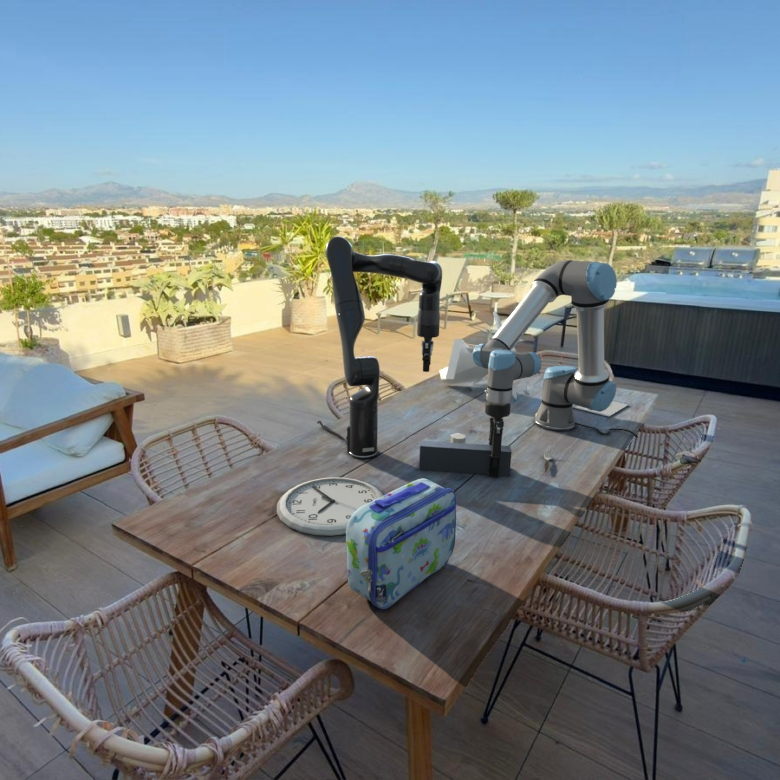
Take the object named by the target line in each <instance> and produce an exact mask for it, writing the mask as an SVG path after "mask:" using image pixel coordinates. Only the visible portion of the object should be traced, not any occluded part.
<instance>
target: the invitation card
mask: <svg viewBox="0 0 780 780" xmlns="http://www.w3.org/2000/svg"><path fill="white" fill-rule="evenodd" d="M628 406H629V404H627V403H623V402H618V401H614V400H613V401H612V403H611V404H610V406H609V407H608V408H607V409H605V410H604V411H601V412H598V411H594V410H590V409H587V408H584V407H581V406H577V405H575V406H574V407H573V409H575V410H581V411H584V412H587V413H593V414H596V415H600V416H604V417H608V418H609V417H611V416H613V415H614V414H616V413H617V412H619V411H621V410H623V409H624V408H626V407H628Z"/></svg>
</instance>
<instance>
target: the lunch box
mask: <svg viewBox="0 0 780 780" xmlns="http://www.w3.org/2000/svg"><path fill="white" fill-rule="evenodd" d="M456 498H457V496H456V493H455V491H454V489H452V488H450V487H443V486H441V485H439V484H438V483H436V482H433V481H432V480H430V479H427V478H423V477H422V478H418V479H416V480H413V481H411V482H409V483H406V484H405V485H402V486H400V487H398V488H396V489H394V490H392V491H390V492H388V493H386V494H384V496H382V497H380V498H378V499H376V500H374V501H372V502H370V503H368V504H366V505H364V506H362V507H360V508H358V509H357V510H356V511H355V512H354V513H353V514H352V515H351V517H350V519H349V521H348V524H347V528H346V534H345V547H346V549H345V550H346V572H347V573H346V575H347V584H348V587H349V589H350V590H351V591H353V592H355V593H357V594H358V595H361V596H363V597H364V598H365V599H367V600H368V601H369V602H371V604H372V605H373V606H374V607H376V608H377V609H380V610H386V609H389V608H391V607H393V605H395V603H397V602H398V601H399V600H400V599H402V598H403V597H404V596H405V595H408V593H410V592H411V591H412V590H413V589H415V588H416V587H417V586H419V585H420V584H421V583H423V581H424V580H425V579H427V578H428V577H430V576H431V575H433V574H435V573H437V572H438V571H439V570H441V569H442V568H443V567H444V566H446V564H447V563H448V562H449V560H450V559H451V556H452V555H453V552H454V548H455V544H456V531H457V530H456V529H457V499H456Z"/></svg>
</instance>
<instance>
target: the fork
mask: <svg viewBox="0 0 780 780" xmlns="http://www.w3.org/2000/svg"><path fill="white" fill-rule="evenodd" d="M553 451H554V450H553V448H552V451H551V449H549V451H547V450H545V452H544V455H543V459H545V460H546V461H545V463H544V473H547V470H548V468H549V461H551V460H553Z"/></svg>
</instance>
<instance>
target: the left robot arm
mask: <svg viewBox="0 0 780 780" xmlns="http://www.w3.org/2000/svg"><path fill="white" fill-rule="evenodd" d="M324 250H325V251H324V252H325V253H324V254H325V257H326V260H327V263H328V264H327V265H328V269H329V271H330V275H331V280H332V282H331V283H332V292H333V302H334V309H335V315H336V319H337V320H336V321H337V326H338V331H339V336H340V343H341V354H342V362H343V364H342V365H343V373H344V379H345V382H346V384H347V385H348V386H349V387H363V388H362V389H360V390H359V391H357V392H355V393H353V394H351V395H350V397H349V400H348V402H349V403H348V404H349V425H348V426H347V427H346V436H345V437H343V436H341V434H339V433H338V432H337V431H336V432H335V431H333V430H332V429H329V428H328V427H326V426H325V425H324V424H323V422H322V421H321V420H318V421H316V424H319V425H320V427H321V428H322V429H324V430H325V431H327V432H328V433H330V434H333V435H335V436H336V437H338V438H339V439H340V440H342V441H344V442H345V443H346V450H347V451H346V452H347V454H349V455H350V456H351V457H352V458H354V459H361V460H364V459H371V458H374V457H376V456H377V455H378V424H379V423H378V419H379V418H378V417H379V416H378V415H379V414H378V413H379V411H378V409H379V405H378V404H379V392H380V377H381V376H380V375H381V368H380V362H379V360H378V358H377V357H375V356H373V355H371V356H370V355H369V356H355V346H356V342H357V339H358V336H359V335H360V332H361V331H362V328H363V326H364V324H365V320H366V314H365V308H364V303H363V299H362V296H361V295H362V294H361V292H360V289H359V285H358V284H357V283H358V282H357V280H356V278H355V274H354V273H366V274H377V275H383V276H389V277H394V278H400V279H404V280H405V279H406V280H410V281H412V282H417V283H420V284H421V289H420V292H419V296H418V309H417V310H418V311H417V327H416V335H417V336H418V337H419V338H423V340H421V355H422V358H421V361H422V372H423V373H429V372H430V366H431V364H432V363H431V361H432V360H431V359H432V355H433V350H434V340H433V339H434V338H438V337H439V336H440V320H441V313H440V309H441V308H440V304H441V290H442V282H443V268H442V266H441V264H440V263H438V261H433V260H431V261H423V260H416V259H413V258H411V257H408V256H403V255H397V254H391V253H390V254H388V253H385V254H377V255H368V254H363V253H360V252H356V251H354V248H353V246H352V243H350V241H348V240H347V238H345V237H344V236H337V235H336V236H334V237H331V238H330V239H329V240H328V242H327V243H326V246H325V249H324Z"/></svg>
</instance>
